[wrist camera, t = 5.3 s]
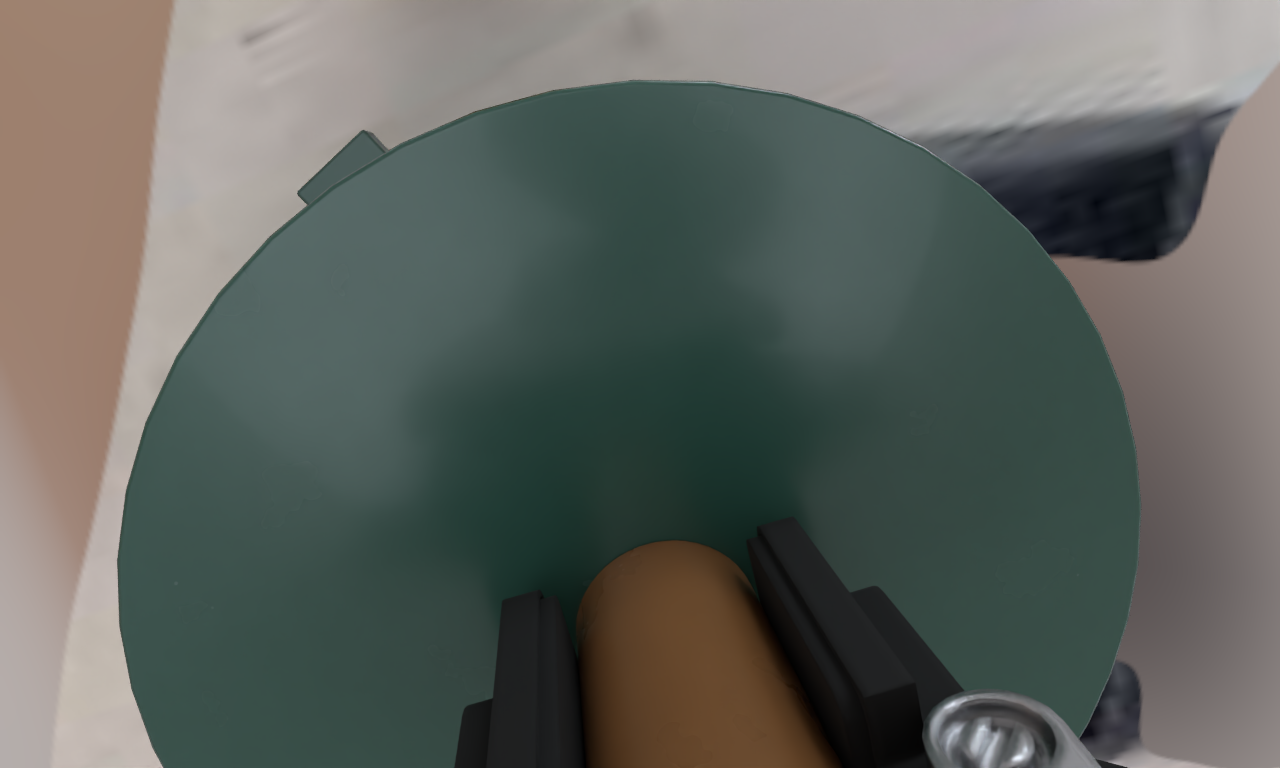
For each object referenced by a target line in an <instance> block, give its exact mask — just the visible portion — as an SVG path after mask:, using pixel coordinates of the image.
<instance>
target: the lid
mask: <svg viewBox="0 0 1280 768" xmlns="http://www.w3.org/2000/svg"><path fill="white" fill-rule="evenodd" d="M791 516H793V517H794V518H795V519H796V520H797V522H798V523H799V524H800V526H801V527H802V528H803V530H804V531H805V532H806V534H807V535H808V536H809V538H810V539H811V541H812V542H813V543H814V545H815V546H816V547H817V549H818V550H819V551H820V553H821V554H822V556H823V557H824V558H825V560H826V561H827V562H828V564H829V565H830V566H831V568H832V569H833V570H834V572H835V573H836V575H837V576H838V577H839V579H840V580H841V581H842V583H843V584H844V585H845V587H846V588H847V590H848V591H849V592H854V591H857V590H861V589H864V588H867V587H871V586H878V587H879V588H880V589H881V590H882V591H883V592H884V593H885V594H886V595H887V596H888V598H889V599H890V600H891V601H892V603H893V604H894V605H895V606H896V607H897V609H898V610H899V611H900V612H901V614H902V615H903V616H904V617H905V618H906V620H907V621H908V622H909V623H910V625H911V626H912V627H913V628H914V629H915V631H916V632H917V633H918V634H919V636H920V637H921V638H922V639H923V640H924V642H925V643H926V644H927V645H928V647H929V648H930V649H931V650H932V651H933V653H934V654H935V655H936V656H937V658H938V659H939V660H940V661H941V662H942V664H943V665H944V666H945V667H946V669H947V670H948V671H949V672H950V673H951V675H952V676H953V677H954V678H955V680H956V681H957V682H958V683H959V684H960V686H961V687H962V688H963V689H964V691H969V690H977V689H985V688H986V689H999V690H1009V691H1012V692H1016V693H1019V694H1023V695H1026V696H1029V697H1031V698H1033V699H1035V700H1037V701H1039V702H1041V703H1043V704H1044V705H1046V706H1048V707H1049V708H1050V709H1052V710H1053V711H1054V712H1055V713H1056V714H1057V715H1058V716H1059V717H1060V718H1061V719H1063V720H1064V722H1065V723H1066V724H1067V725H1068V727H1069V728H1070V729H1071V730H1072V732H1073V733H1074V734H1075V735H1076V736H1077V738H1078V739H1079V738H1080V736H1081V735H1082V733H1083V731H1084V730H1085V728H1086V726H1087V725H1088V723H1089V721H1090V719H1091V717H1092V714H1093V712H1094V710H1095V708H1096V705H1097V703H1098V701H1099V699H1100V697H1101V694H1102V692H1103V690H1104V688H1105V686H1106V683H1107V681H1108V679H1109V677H1110V674H1111V672H1112V669H1113V666H1114V663H1115V660H1116V656H1117V653H1118V650H1119V647H1120V643H1121V640H1122V637H1123V634H1124V631H1125V627H1126V625H1127V621H1128V618H1129V613H1130V607H1131V601H1132V596H1133V590H1134V585H1135V579H1136V574H1137V568H1138V562H1139V539H1140V519H1141V499H1140V487H1139V477H1138V464H1137V453H1136V447H1135V442H1134V438H1133V433H1132V429H1131V425H1130V420H1129V416H1128V412H1127V408H1126V403H1125V399H1124V395H1123V391H1122V388H1121V386H1120V383H1119V381H1118V378H1117V376H1116V373H1115V370H1114V368H1113V365H1112V363H1111V360H1110V358H1109V355H1108V353H1107V350H1106V348H1105V345H1104V343H1103V340H1102V337H1101V335H1100V333H1099V332H1098V330H1097V328H1096V326H1095V325H1094V323H1093V321H1092V319H1091V318H1090V316H1089V315H1088V313H1087V311H1086V309H1085V308H1084V306H1083V304H1082V302H1081V300H1080V299H1079V297H1078V295H1077V294H1076V292H1075V290H1074V288H1073V287H1072V285H1071V283H1070V281H1069V280H1068V279H1067V278H1066V276H1065V275H1064V274H1063V273H1062V271H1061V270H1060V269H1059V268H1058V266H1057V265H1056V264H1055V263H1054V261H1053V260H1052V259H1051V258H1050V256H1049V255H1048V254H1047V253H1046V251H1045V250H1044V249H1043V248H1042V246H1041V245H1040V244H1039V243H1038V241H1037V240H1036V239H1035V238H1034V236H1033V235H1032V234H1031V233H1030V231H1029V230H1028V229H1027V228H1026V227H1025V226H1024V225H1023V224H1021V223H1020V222H1019V221H1018V220H1017V219H1016V218H1015V217H1014V216H1013V215H1012V214H1011V213H1010V212H1008V211H1007V210H1006V209H1005V208H1004V207H1003V206H1002V205H1001V204H1000V203H999V202H998V201H997V200H995V199H994V198H993V197H992V196H991V195H990V194H989V193H988V192H987V191H986V190H985V189H984V188H982V187H981V186H980V185H979V184H978V183H976V182H975V181H973V180H972V179H970V178H969V177H967V176H966V175H964V174H963V173H961V172H960V171H958V170H957V169H955V168H954V167H953V166H951V165H950V164H948V163H947V162H945V161H944V160H942V159H941V158H939V157H938V156H936V155H935V154H933V153H932V152H930V151H929V150H927V149H926V148H925V147H923V146H921V145H919V144H917V143H915V142H913V141H911V140H909V139H907V138H904V137H902V136H900V135H898V134H896V133H894V132H892V131H890V130H888V129H886V128H884V127H882V126H879V125H877V124H875V123H873V122H871V121H869V120H867V119H865V118H863V117H861V116H859V115H856V114H852V113H849V112H846V111H843V110H840V109H836V108H833V107H830V106H827V105H823V104H820V103H817V102H814V101H811V100H807V99H804V98H801V97H798V96H794V95H791V94H788V93H783V92H776V91H770V90H764V89H757V88H751V87H745V86H738V85H732V84H726V83H719V82H713V81H660V80H630V81H622V82H614V83H606V84H598V85H590V86H582V87H574V88H566V89H559V90H552V91H548V92H545V93H541V94H537V95H534V96H530V97H526V98H523V99H519V100H515V101H512V102H508V103H504V104H501V105H497V106H493V107H490V108H486V109H482V110H479V111H475V112H473V113H470V114H468V115H466V116H463V117H461V118H459V119H456V120H454V121H452V122H449V123H447V124H445V125H442V126H440V127H438V128H435V129H433V130H431V131H428V132H426V133H424V134H421V135H419V136H417V137H415V138H412V139H410V140H408V141H405V142H403V143H401V144H399V145H397V146H396V147H394V148H392V149H391V150H389V151H387V152H386V153H384V154H382V155H381V156H379V157H378V158H376V159H374V160H373V161H371V162H369V163H368V164H366V165H364V166H363V167H361V168H359V169H358V170H356V171H355V172H353V173H351V174H350V175H348V176H346V177H345V178H343V179H341V180H340V181H338V182H336V183H335V184H333V185H332V186H330V187H329V188H328V189H327V190H325V191H324V192H323V193H322V194H321V195H319V196H318V197H317V198H316V199H315V200H313V201H312V202H311V203H310V204H309V205H307V206H306V207H305V208H304V209H302V210H301V211H300V212H299V213H298V214H296V215H295V216H294V217H293V218H292V219H290V220H289V221H288V222H287V223H285V224H284V225H283V226H282V227H281V228H279V229H278V230H277V231H276V232H275V233H273V234H272V235H271V236H270V237H269V238H268V239H267V240H266V241H265V242H264V244H263V245H262V246H261V247H260V248H259V249H258V250H257V251H256V252H255V253H254V255H253V256H252V257H251V258H250V259H249V260H248V261H247V262H246V263H245V265H244V266H243V267H242V268H241V269H240V270H239V271H238V272H237V273H236V274H235V276H234V277H233V278H232V279H231V280H230V281H229V282H228V283H227V284H226V286H225V287H224V288H223V289H222V290H221V291H220V292H219V293H218V295H217V296H216V298H215V299H214V301H213V302H212V304H211V305H210V307H209V308H208V310H207V311H206V313H205V314H204V316H203V317H202V319H201V320H200V322H199V323H198V325H197V326H196V328H195V329H194V331H193V332H192V334H191V335H190V337H189V338H188V340H187V341H186V343H185V344H184V346H183V347H182V349H181V350H180V352H179V353H178V355H177V356H176V358H175V360H174V363H173V365H172V367H171V369H170V371H169V373H168V376H167V378H166V380H165V382H164V384H163V386H162V388H161V391H160V393H159V395H158V397H157V399H156V401H155V404H154V406H153V408H152V410H151V412H150V414H149V416H148V419H147V421H146V423H145V426H144V430H143V433H142V437H141V440H140V444H139V447H138V451H137V454H136V458H135V461H134V465H133V468H132V471H131V475H130V478H129V482H128V485H127V489H126V494H125V502H124V510H123V518H122V526H121V534H120V542H119V550H118V558H117V567H118V597H119V626H120V631H121V637H122V642H123V647H124V652H125V657H126V663H127V668H128V673H129V678H130V683H131V689H132V692H133V694H134V697H135V700H136V703H137V706H138V708H139V711H140V714H141V717H142V719H143V722H144V725H145V728H146V731H147V733H148V736H149V739H150V742H151V745H152V747H153V749H154V751H155V753H156V755H157V757H158V759H159V760H160V762H161V764H162V766H163V768H454V767H455V760H456V753H457V746H458V740H459V733H460V726H461V720H462V715H463V711H464V708H465V707H466V706H468V705H471V704H475V703H478V702H481V701H485V700H488V699H491V698H493V690H494V680H495V669H496V659H497V648H498V638H499V627H500V617H501V607H502V601H503V600H504V599H508V598H511V597H515V596H518V595H522V594H525V593H529V592H532V591H536V590H539V589H540V591H541V592H542V594H543V596H544V598H547V597H551V596H554V595H556V596H557V598H558V600H559V603H560V606H561V609H562V612H563V615H564V618H565V621H566V625H567V628H568V631H569V634H570V637H571V640H572V643H573V646H574V649H575V653H576V656H577V659H578V667H579V680H580V694H581V708H582V721H583V735H584V749H585V762H586V768H844V767H843V765H842V763H841V761H840V759H839V757H838V755H837V753H836V751H835V749H834V747H833V745H832V743H831V741H830V739H829V737H828V735H827V733H826V731H825V729H824V727H823V725H822V723H821V721H820V720H819V718H818V716H817V714H816V712H815V710H814V708H813V706H812V704H811V702H810V700H809V698H808V696H807V694H806V692H805V690H804V688H803V686H802V684H801V682H800V680H799V678H798V676H797V674H796V672H795V670H794V668H793V666H792V665H791V663H790V661H789V659H788V657H787V655H786V653H785V651H784V649H783V647H782V645H781V643H780V641H779V639H778V637H777V635H776V633H775V631H774V629H773V627H772V625H771V623H770V621H769V619H768V617H767V615H766V613H765V612H764V610H763V608H762V606H761V604H760V599H759V595H758V591H757V587H756V583H755V578H754V574H753V570H752V566H751V561H750V557H749V553H748V548H747V542H746V541H747V539H750V538H754V537H757V536H758V535H757V526H760V525H764V524H767V523H771V522H774V521H778V520H781V519H784V518H788V517H791Z"/></svg>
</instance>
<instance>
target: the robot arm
mask: <svg viewBox="0 0 1280 768" xmlns="http://www.w3.org/2000/svg"><path fill="white" fill-rule="evenodd" d="M757 535H758V536H757V537H754V538H750V539H747V541H746V542H747V548H748V553H749V557H750V561H751V566H752V570H753V574H754V578H755V583H756V587H757V591H758V595H759V599H760V604H761V606H762V608H763V610H764V612H765V613H766V615H767V617H768V619H769V621H770V623H771V625H772V627H773V629H774V631H775V633H776V635H777V637H778V639H779V641H780V643H781V645H782V647H783V649H784V651H785V653H786V655H787V657H788V659H789V661H790V663H791V665H792V666H793V668H794V670H795V672H796V674H797V676H798V678H799V680H800V682H801V684H802V686H803V688H804V690H805V692H806V694H807V696H808V698H809V700H810V702H811V704H812V706H813V708H814V710H815V712H816V714H817V716H818V718H819V720H820V721H821V723H822V725H823V727H824V729H825V731H826V733H827V735H828V737H829V739H830V741H831V743H832V745H833V747H834V749H835V751H836V753H837V755H838V757H839V759H840V761H841V763H842V765H843V767H844V768H1127V767H1123V766H1120V765H1116V764H1112V763H1108V762H1104V761H1101V760H1097V759H1094V758H1093V756H1092V755H1091V754H1090V753H1089V751H1088V750H1087V749H1086V748H1085V746H1084V745H1083V744H1082V743H1081V741H1080V740H1079V739H1078V738H1077V736H1076V735H1075V734H1074V733H1073V732H1072V730H1071V729H1070V728H1069V727H1068V725H1067V724H1066V723H1065V722H1064V720H1063V719H1061V718H1060V717H1059V716H1058V715H1057V714H1056V713H1055V712H1054V711H1053V710H1052V709H1050V708H1049V707H1048V706H1046V705H1044V704H1043V703H1041V702H1039V701H1037V700H1035V699H1033V698H1031V697H1029V696H1026V695H1023V694H1019V693H1016V692H1012V691H1009V690H999V689H986V688H985V689H977V690H969V691H964V689H963V688H962V687H961V686H960V684H959V683H958V682H957V681H956V680H955V678H954V677H953V676H952V675H951V673H950V672H949V671H948V670H947V669H946V667H945V666H944V665H943V664H942V662H941V661H940V660H939V659H938V658H937V656H936V655H935V654H934V653H933V651H932V650H931V649H930V648H929V647H928V645H927V644H926V643H925V642H924V640H923V639H922V638H921V637H920V636H919V634H918V633H917V632H916V631H915V629H914V628H913V627H912V626H911V625H910V623H909V622H908V621H907V620H906V618H905V617H904V616H903V615H902V614H901V612H900V611H899V610H898V609H897V607H896V606H895V605H894V604H893V603H892V601H891V600H890V599H889V598H888V596H887V595H886V594H885V593H884V592H883V591H882V590H881V589H880V588H879V587H878V586H871V587H867V588H864V589H861V590H857V591H854V592H849V591H848V590H847V588H846V587H845V585H844V584H843V583H842V581H841V580H840V579H839V577H838V576H837V575H836V573H835V572H834V570H833V569H832V568H831V566H830V565H829V564H828V562H827V561H826V560H825V558H824V557H823V556H822V554H821V553H820V551H819V550H818V549H817V547H816V546H815V545H814V543H813V542H812V541H811V539H810V538H809V536H808V535H807V534H806V532H805V531H804V530H803V528H802V527H801V526H800V524H799V523H798V522H797V520H796V519H795V518H794V517H793V516H791V517H788V518H784V519H781V520H778V521H774V522H771V523H767V524H764V525H760V526H757ZM454 768H586V762H585V749H584V735H583V721H582V708H581V694H580V680H579V667H578V659H577V656H576V653H575V649H574V646H573V643H572V640H571V637H570V634H569V631H568V628H567V625H566V621H565V618H564V615H563V612H562V609H561V606H560V603H559V600H558V598H557V596H556V595H554V596H551V597H547V598H544V596H543V594H542V592H541V591H540V589H539V590H536V591H532V592H529V593H525V594H522V595H518V596H515V597H511V598H508V599H504V600H503V601H502V607H501V617H500V627H499V638H498V648H497V659H496V669H495V680H494V690H493V698H491V699H488V700H485V701H481V702H478V703H475V704H471V705H468V706H466V707H465V708H464V711H463V715H462V720H461V726H460V733H459V740H458V746H457V753H456V760H455V767H454Z"/></svg>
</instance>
